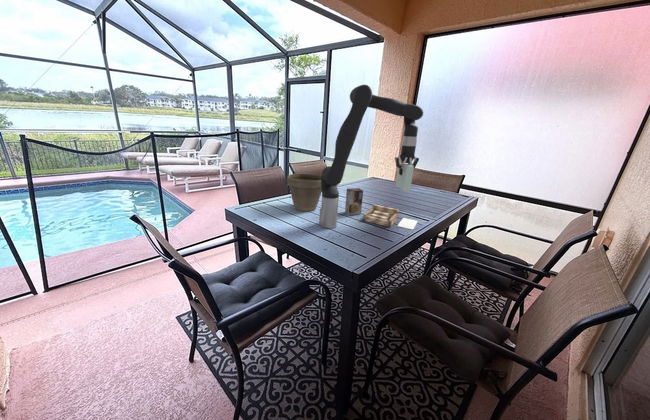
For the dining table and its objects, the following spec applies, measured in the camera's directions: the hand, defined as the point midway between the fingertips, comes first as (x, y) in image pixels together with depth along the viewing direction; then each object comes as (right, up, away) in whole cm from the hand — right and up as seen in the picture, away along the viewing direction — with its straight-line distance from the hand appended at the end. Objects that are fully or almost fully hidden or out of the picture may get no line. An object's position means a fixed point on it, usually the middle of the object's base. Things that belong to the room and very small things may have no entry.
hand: (404, 175), depth 145 cm
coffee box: (-28, -23, +20) cm, 41 cm away
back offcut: (-12, -27, +10) cm, 31 cm away
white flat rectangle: (+4, -29, +7) cm, 30 cm away
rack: (-11, -26, +11) cm, 31 cm away
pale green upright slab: (0, -7, +3) cm, 8 cm away
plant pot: (-59, -19, +24) cm, 67 cm away
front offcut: (-14, -28, +8) cm, 32 cm away
